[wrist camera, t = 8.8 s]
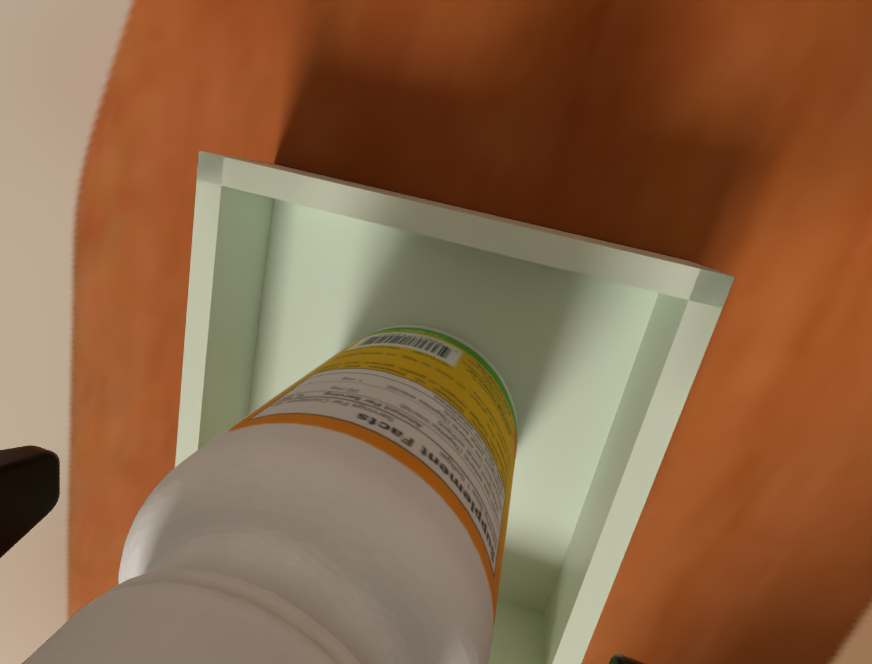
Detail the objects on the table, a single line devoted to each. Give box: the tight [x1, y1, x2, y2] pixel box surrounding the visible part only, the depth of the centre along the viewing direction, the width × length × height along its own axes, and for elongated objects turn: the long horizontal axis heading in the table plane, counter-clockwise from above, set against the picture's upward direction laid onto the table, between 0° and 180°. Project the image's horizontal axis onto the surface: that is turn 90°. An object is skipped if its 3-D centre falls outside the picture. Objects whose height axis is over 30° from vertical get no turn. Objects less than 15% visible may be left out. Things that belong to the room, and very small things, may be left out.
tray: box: [175, 151, 735, 664], centre depth 13 cm, size 11×11×3 cm
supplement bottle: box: [22, 325, 518, 664], centre depth 9 cm, size 5×5×10 cm
